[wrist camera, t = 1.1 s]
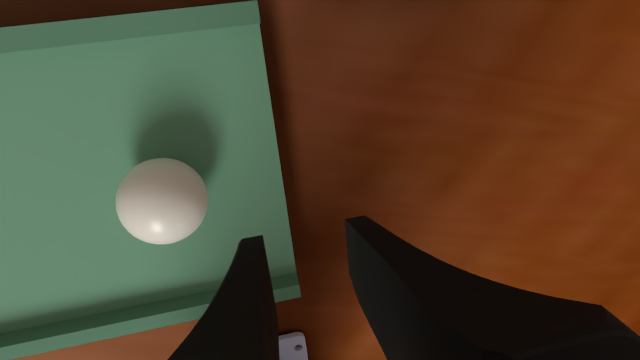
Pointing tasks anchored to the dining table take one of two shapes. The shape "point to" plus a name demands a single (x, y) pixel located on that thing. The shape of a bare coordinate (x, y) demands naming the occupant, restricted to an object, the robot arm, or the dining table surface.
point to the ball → (161, 201)
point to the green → (119, 158)
